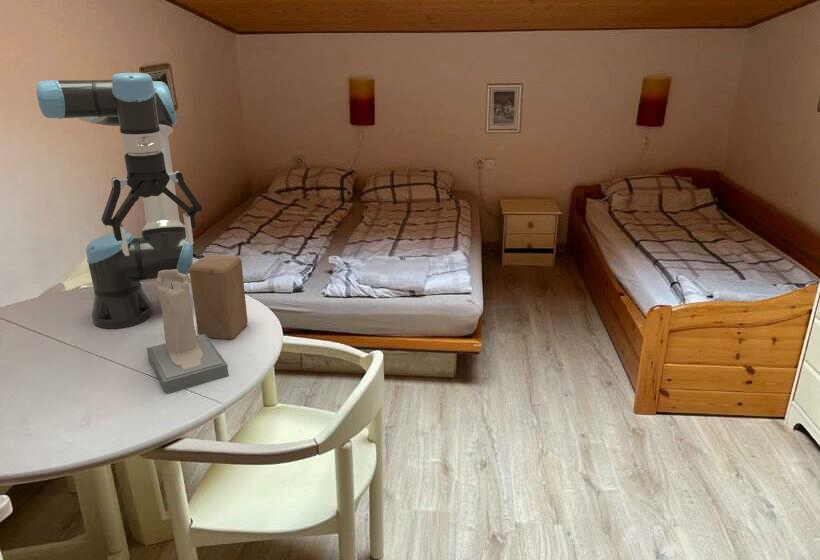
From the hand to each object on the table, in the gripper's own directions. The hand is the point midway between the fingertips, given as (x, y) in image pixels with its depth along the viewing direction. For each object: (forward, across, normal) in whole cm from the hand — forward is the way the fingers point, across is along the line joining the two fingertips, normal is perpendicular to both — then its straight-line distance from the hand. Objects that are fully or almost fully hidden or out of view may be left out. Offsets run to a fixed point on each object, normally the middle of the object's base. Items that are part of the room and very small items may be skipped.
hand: (159, 248), depth 130 cm
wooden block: (+30, +15, +10) cm, 35 cm away
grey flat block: (+29, +1, -4) cm, 30 cm away
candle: (+26, +1, -4) cm, 27 cm away
